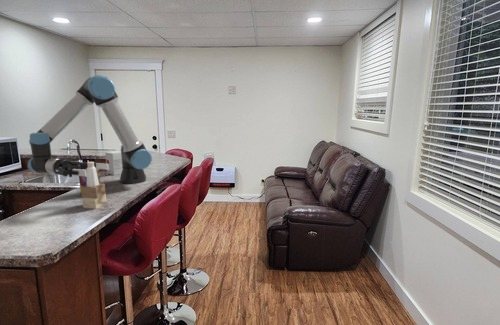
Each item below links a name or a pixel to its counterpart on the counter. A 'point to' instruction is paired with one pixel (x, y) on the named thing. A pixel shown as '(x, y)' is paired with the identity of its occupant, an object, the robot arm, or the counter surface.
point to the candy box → (84, 179)
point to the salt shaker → (92, 175)
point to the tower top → (93, 191)
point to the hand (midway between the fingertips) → (97, 169)
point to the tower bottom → (94, 202)
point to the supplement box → (114, 162)
